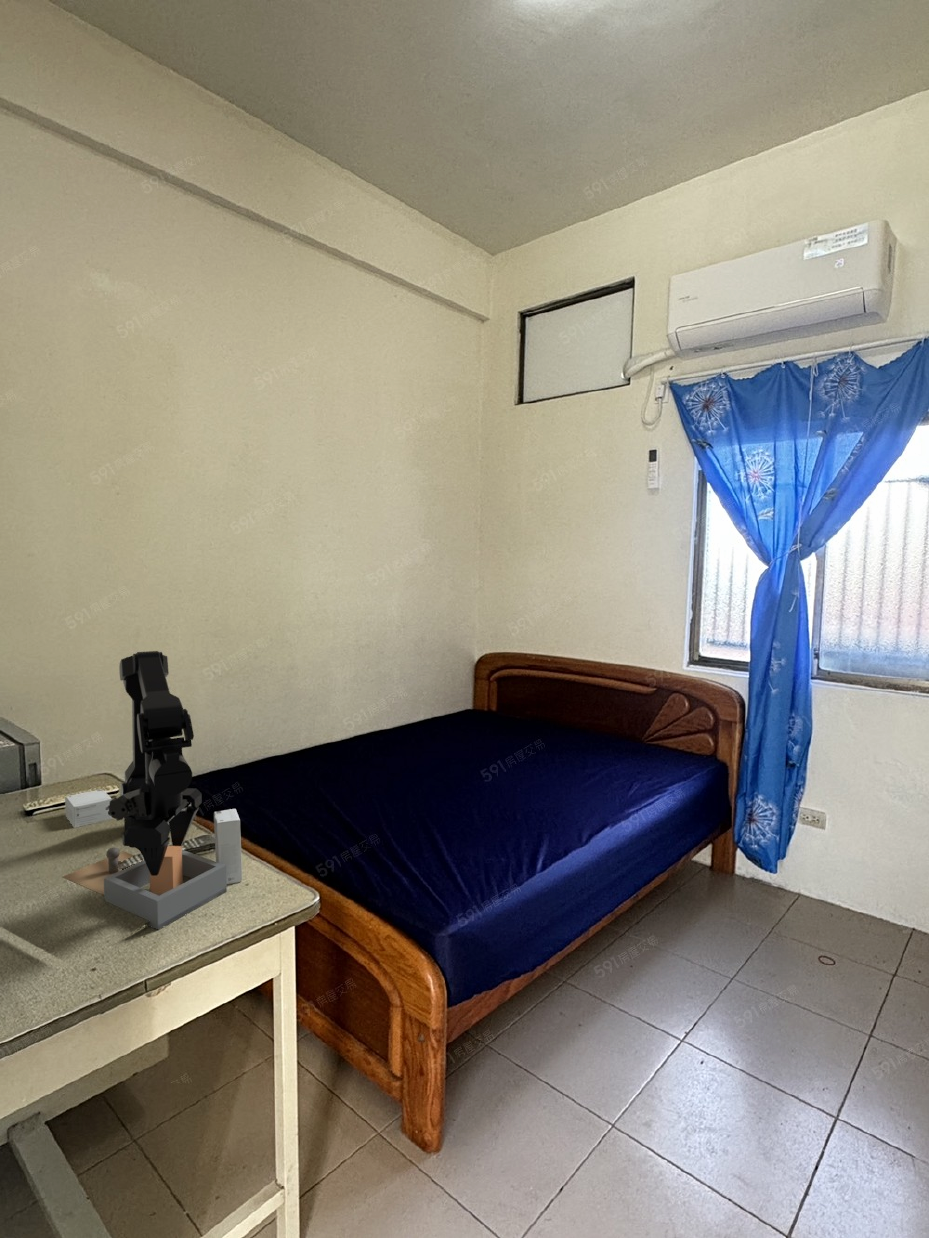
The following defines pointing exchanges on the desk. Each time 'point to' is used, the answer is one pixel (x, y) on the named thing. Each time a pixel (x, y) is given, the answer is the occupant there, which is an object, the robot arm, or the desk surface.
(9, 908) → the desk surface
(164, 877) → the tan wooden brick
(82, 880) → the stud base
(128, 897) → the bin
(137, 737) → the robot arm
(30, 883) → the desk surface
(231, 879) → the skincare box
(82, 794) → the small box
